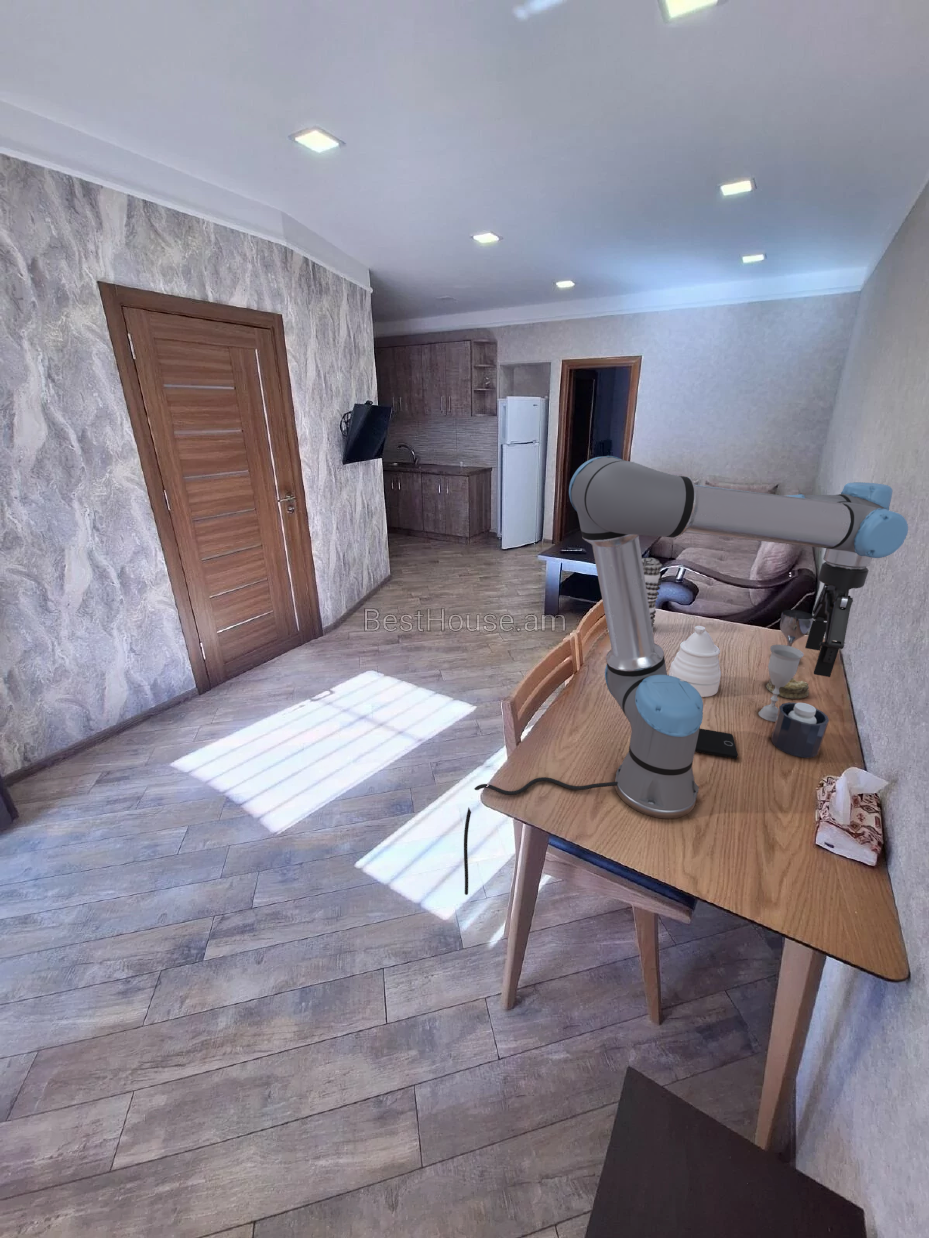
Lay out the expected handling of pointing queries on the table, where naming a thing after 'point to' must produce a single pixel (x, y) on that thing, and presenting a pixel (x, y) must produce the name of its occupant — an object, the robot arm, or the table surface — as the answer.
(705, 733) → the cell phone
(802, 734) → the cup
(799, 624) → the wine glass
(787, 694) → the cake
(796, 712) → the supplement bottle
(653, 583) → the decorative candle
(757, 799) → the table surface
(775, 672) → the chalice
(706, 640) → the honey pot
